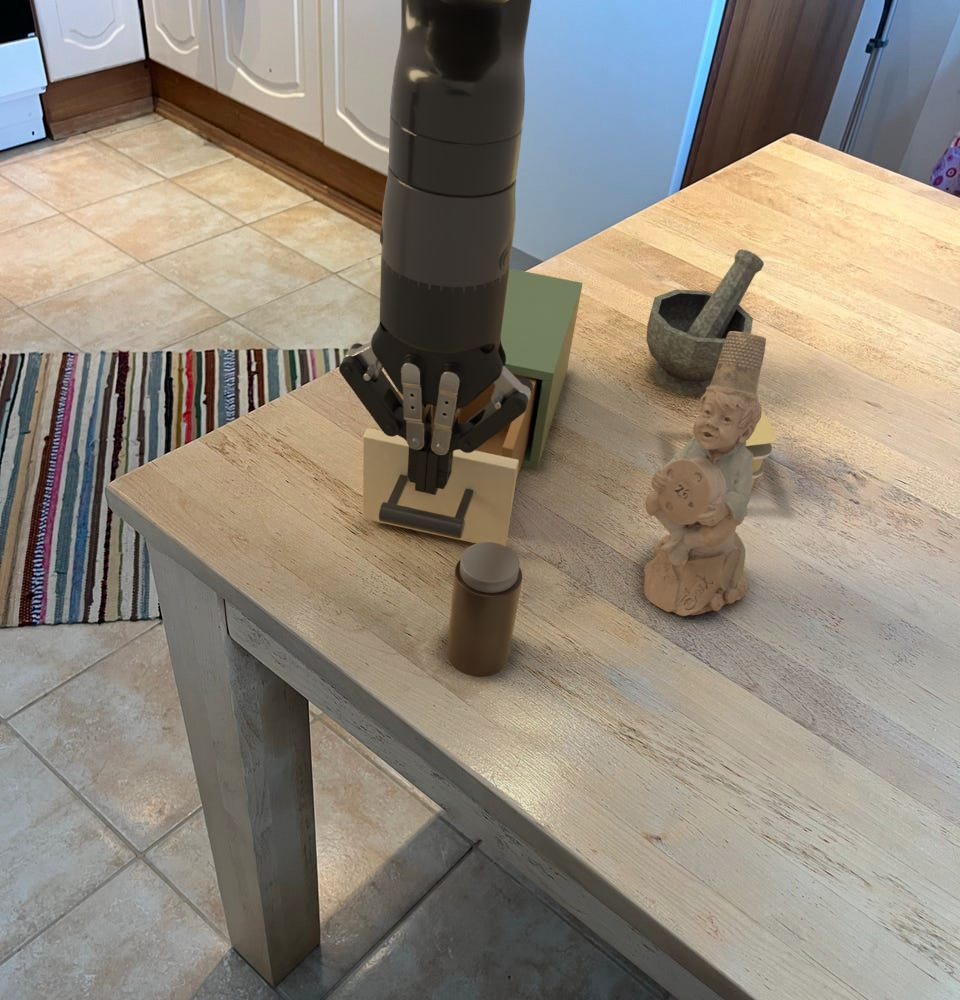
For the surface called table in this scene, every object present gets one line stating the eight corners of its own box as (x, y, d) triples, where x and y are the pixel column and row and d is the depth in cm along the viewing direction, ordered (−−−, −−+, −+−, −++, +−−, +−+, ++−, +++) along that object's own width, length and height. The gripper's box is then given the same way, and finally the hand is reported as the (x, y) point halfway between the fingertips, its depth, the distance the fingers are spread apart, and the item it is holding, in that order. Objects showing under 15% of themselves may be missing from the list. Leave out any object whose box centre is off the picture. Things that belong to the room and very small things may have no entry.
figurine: (676, 532, 80) (747, 307, 66) (762, 587, 77) (857, 362, 62) (608, 581, 76) (669, 350, 61) (697, 642, 72) (783, 412, 57)
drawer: (490, 592, 72) (502, 511, 67) (342, 559, 73) (341, 476, 68) (537, 443, 85) (550, 364, 80) (411, 416, 86) (414, 336, 81)
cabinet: (537, 470, 84) (553, 373, 77) (395, 440, 85) (399, 341, 78) (565, 376, 95) (582, 282, 88) (439, 350, 96) (446, 255, 89)
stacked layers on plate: (662, 438, 89) (677, 386, 85) (758, 444, 90) (777, 393, 86) (680, 509, 82) (697, 456, 78) (783, 515, 83) (805, 463, 79)
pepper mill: (439, 670, 68) (448, 576, 61) (454, 626, 71) (464, 532, 64) (501, 684, 68) (517, 592, 61) (513, 639, 71) (530, 546, 64)
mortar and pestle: (685, 418, 92) (720, 299, 83) (615, 370, 96) (641, 253, 87) (761, 383, 97) (801, 268, 88) (691, 340, 102) (723, 226, 93)
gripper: (568, 244, 59) (528, 475, 71) (356, 202, 60) (354, 437, 73) (546, 303, 54) (508, 540, 66) (315, 255, 55) (321, 498, 67)
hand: (428, 486), depth 69 cm, fingers closed
